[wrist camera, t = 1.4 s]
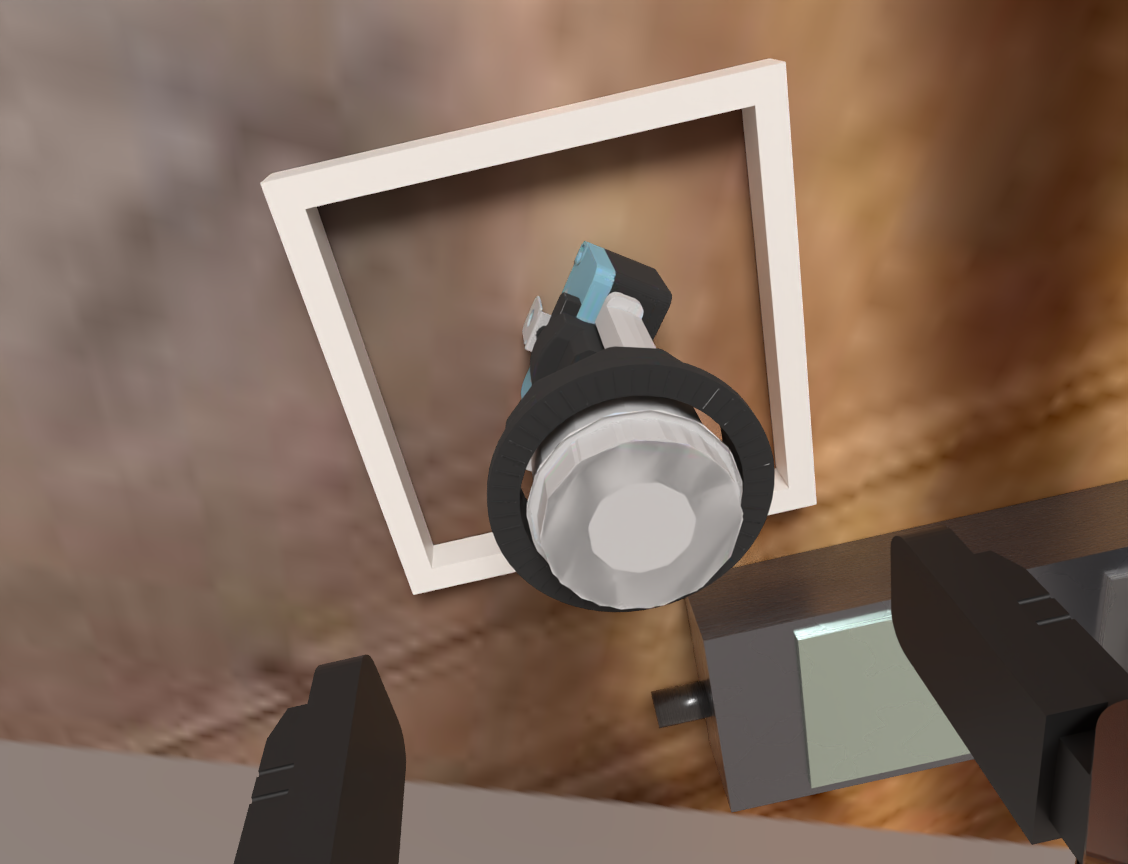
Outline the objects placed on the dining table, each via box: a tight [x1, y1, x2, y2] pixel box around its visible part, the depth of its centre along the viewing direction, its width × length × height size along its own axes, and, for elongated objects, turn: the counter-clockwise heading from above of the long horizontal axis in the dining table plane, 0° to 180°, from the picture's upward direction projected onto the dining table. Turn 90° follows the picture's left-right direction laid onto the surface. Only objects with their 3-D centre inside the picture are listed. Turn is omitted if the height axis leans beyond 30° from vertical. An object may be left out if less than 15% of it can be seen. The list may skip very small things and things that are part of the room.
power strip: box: [651, 480, 1128, 812], centre depth 26 cm, size 27×8×8 cm, turn 102°
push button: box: [487, 241, 775, 612], centre depth 19 cm, size 7×5×10 cm
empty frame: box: [260, 58, 817, 595], centre depth 23 cm, size 13×13×1 cm
